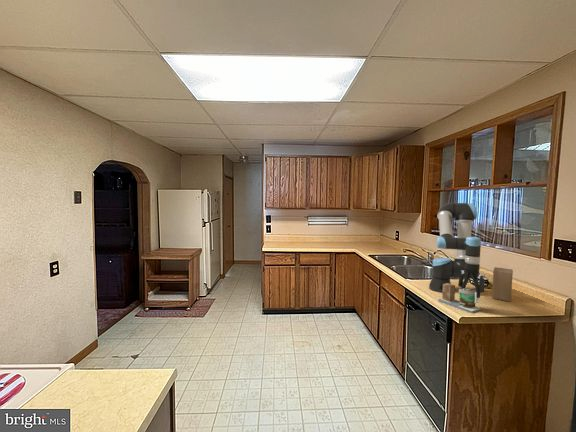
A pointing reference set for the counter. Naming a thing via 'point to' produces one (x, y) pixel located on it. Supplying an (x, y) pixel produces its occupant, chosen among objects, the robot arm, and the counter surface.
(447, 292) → the walnut pillar
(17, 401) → the counter surface
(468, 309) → the board
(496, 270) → the wooden block
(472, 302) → the food container
